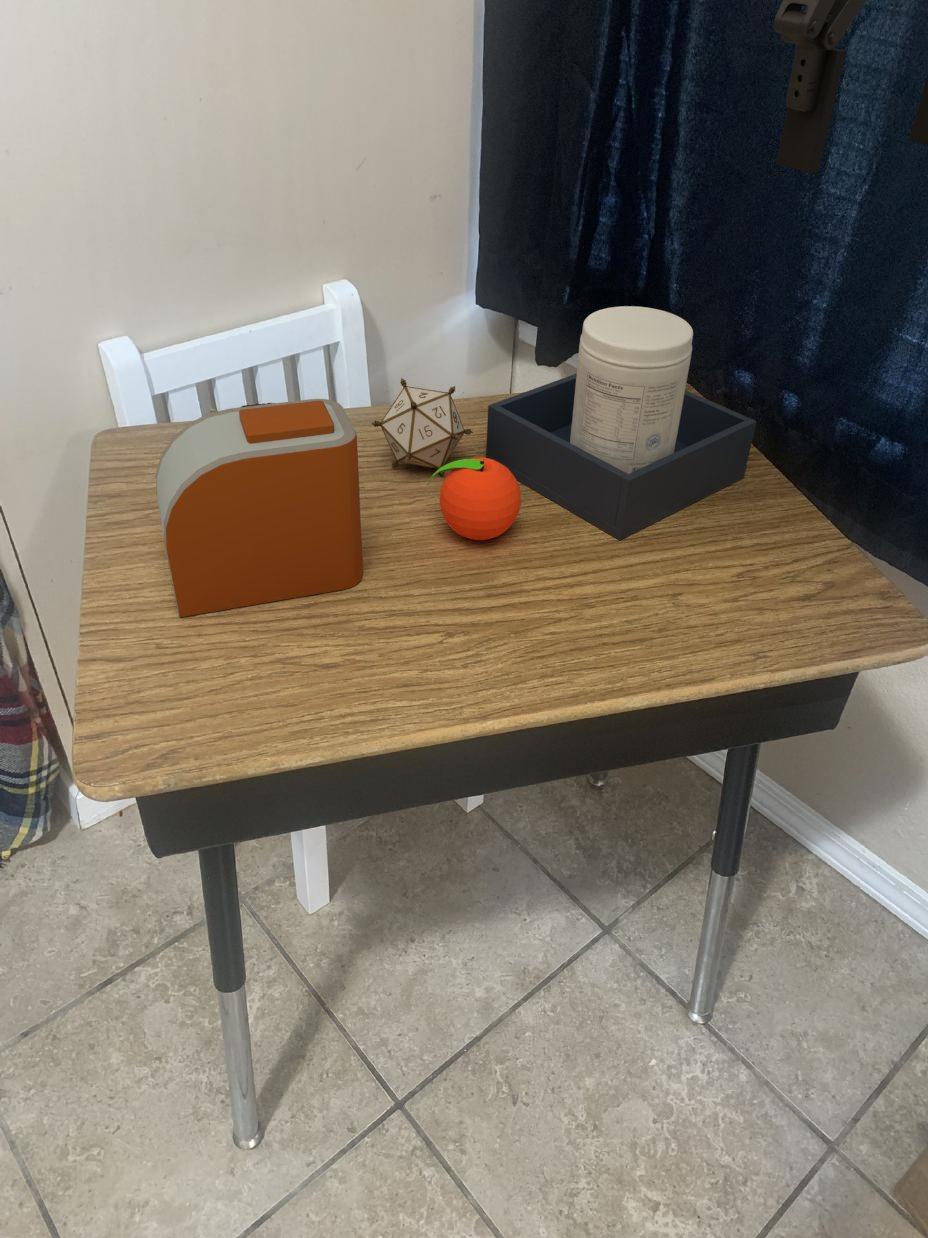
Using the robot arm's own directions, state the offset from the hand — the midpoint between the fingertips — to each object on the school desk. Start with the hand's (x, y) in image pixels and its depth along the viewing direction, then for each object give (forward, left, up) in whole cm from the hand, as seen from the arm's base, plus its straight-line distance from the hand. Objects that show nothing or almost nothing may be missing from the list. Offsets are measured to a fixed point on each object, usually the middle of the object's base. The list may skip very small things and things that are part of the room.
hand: (866, 155), depth 64 cm
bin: (+18, -1, -32) cm, 36 cm away
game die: (+30, +13, -32) cm, 46 cm away
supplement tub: (+16, +1, -31) cm, 35 cm away
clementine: (+18, +17, -32) cm, 40 cm away
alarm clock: (+24, +34, -32) cm, 52 cm away
